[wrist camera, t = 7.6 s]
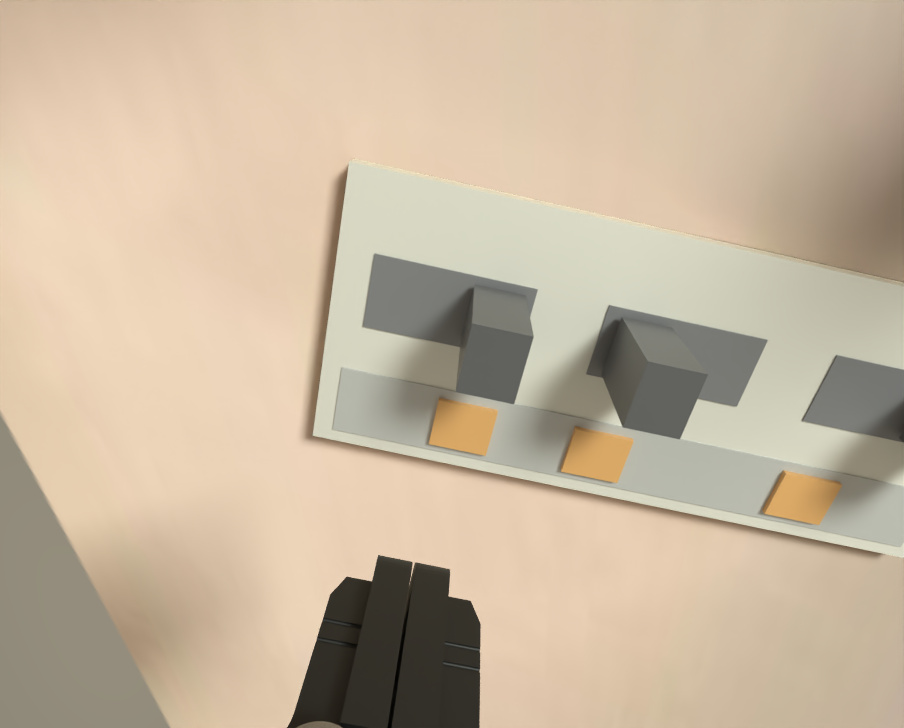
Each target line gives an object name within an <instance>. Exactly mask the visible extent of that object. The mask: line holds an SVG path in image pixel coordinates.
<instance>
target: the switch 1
mask: <svg viewBox="0 0 904 728" xmlns="http://www.w3.org/2000/svg"><path fill="white" fill-rule="evenodd" d="M533 338H534V335H533V330H532V325H531V320H530V314H529V309H528V304H527V299H526V295H521V294H516V293H512V292H507V291H503V290H498V289H494V288H489V287H485V286H480V285H475V284H474V288H473V292H472V297H471V301H470V305H469V309H468V314H467V318H466V322H465V326H464V331H463V335H462V339H461V343H460V352H459V362H458V373H457V383H456V392H458V393H462V394H467V395H472V396H476V397H481V398H486V399H491V400H495V401H500V402H505V403H510V404H514V403H515V400H516V396H517V393H518V389H519V386H520V382H521V379H522V376H523V372H524V369H525V365H526V362H527V358H528V355H529V351H530V348H531V344H532V341H533Z"/></svg>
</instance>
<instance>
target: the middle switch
mask: <svg viewBox="0 0 904 728" xmlns="http://www.w3.org/2000/svg"><path fill="white" fill-rule="evenodd" d="M601 375H602V377H603V380H604V382H605V385H606V387H607V390H608V392H609V395H610V397H611V399H612V402H613V404H614V407H615V409H616V412H617V414H618V417H619V419H620V422H621V424H622V427H623V428H628V429H632V430H637V431H642V432H647V433H651V434H656V435H661V436H665V437H670V438H675V439H680V438H681V436H682V434H683V431H684V429H685V427H686V424H687V422H688V420H689V417H690V415H691V413H692V411H693V408H694V406H695V404H696V401H697V399H698V397H699V394H700V392H701V390H702V387H703V385H704V383H705V381H706V378H707V376H708V374H707V372H706V371H705V370H704V368H703V367H702V366H701V365H700V363H699V362H698V361H697V359H696V358H695V357H694V355H693V354H692V353H691V352H690V350H689V349H688V348H687V346H686V345H685V344H684V342H683V341H682V340H681V339H680V337H679V336H678V335H677V333H676V332H675V331H674V329H673V328H672V327H667V326H662V325H658V324H653V323H649V322H644V321H640V320H635V319H630V318H626V317H621V320H620V322H619V325H618V328H617V331H616V334H615V337H614V340H613V342H612V345H611V348H610V351H609V354H608V357H607V360H606V362H605V365H604V368H603V371H602V374H601Z"/></svg>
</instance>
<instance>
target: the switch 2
mask: <svg viewBox="0 0 904 728" xmlns="http://www.w3.org/2000/svg"><path fill="white" fill-rule="evenodd" d="M899 439H900V440H902V441H903V442H904V430H903V432H902V434H901V435H900V437H899Z"/></svg>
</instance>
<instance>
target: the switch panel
mask: <svg viewBox="0 0 904 728" xmlns="http://www.w3.org/2000/svg"><path fill="white" fill-rule="evenodd" d="M474 284H475V285H480V286H485V287H489V288H494V289H498V290H503V291H507V292H512V293H516V294H521V295H526V299H527V304H528V309H529V314H530V320H531V325H532V330H533V335H534V338H533V341H532V344H531V348H530V351H529V355H528V358H527V362H526V365H525V369H524V372H523V376H522V379H521V382H520V386H519V389H518V393H517V396H516V400H515V403H514V404H510V403H505V402H500V401H495V400H491V399H486V398H481V397H476V396H472V395H467V394H462V393H458V392H456V383H457V373H458V362H459V352H460V343H461V339H462V335H463V331H464V326H465V322H466V318H467V314H468V309H469V305H470V301H471V297H472V292H473V288H474ZM621 317H626V318H630V319H635V320H640V321H644V322H649V323H653V324H658V325H662V326H667V327H672V328H673V329H674V331H675V332H676V333H677V335H678V336H679V337H680V339H681V340H682V341H683V342H684V344H685V345H686V346H687V348H688V349H689V350H690V352H691V353H692V354H693V355H694V357H695V358H696V359H697V361H698V362H699V363H700V365H701V366H702V367H703V368H704V370H705V371H706V372H707V374H708V376H707V378H706V381H705V383H704V385H703V387H702V390H701V392H700V394H699V397H698V399H697V401H696V404H695V406H694V408H693V411H692V413H691V415H690V417H689V420H688V422H687V424H686V427H685V429H684V431H683V434H682V436H681V438H680V439H675V438H670V437H665V436H661V435H656V434H651V433H647V432H642V431H637V430H632V429H628V428H623V427H622V424H621V422H620V419H619V417H618V414H617V412H616V409H615V407H614V404H613V402H612V399H611V397H610V395H609V392H608V390H607V387H606V385H605V382H604V380H603V377H602V375H601V374H602V371H603V368H604V365H605V362H606V360H607V357H608V354H609V351H610V348H611V345H612V342H613V340H614V337H615V334H616V331H617V328H618V325H619V322H620V320H621ZM903 430H904V282H899V281H895V280H890V279H886V278H882V277H877V276H873V275H868V274H864V273H859V272H855V271H851V270H846V269H842V268H837V267H833V266H828V265H824V264H820V263H815V262H811V261H806V260H802V259H798V258H793V257H789V256H784V255H780V254H775V253H771V252H767V251H762V250H758V249H753V248H749V247H744V246H740V245H736V244H731V243H727V242H722V241H718V240H713V239H709V238H705V237H700V236H696V235H691V234H687V233H682V232H678V231H674V230H669V229H665V228H660V227H656V226H652V225H647V224H643V223H638V222H634V221H629V220H625V219H621V218H616V217H612V216H607V215H603V214H598V213H594V212H590V211H585V210H581V209H576V208H572V207H567V206H563V205H559V204H554V203H550V202H545V201H541V200H536V199H532V198H528V197H523V196H519V195H514V194H510V193H506V192H501V191H497V190H492V189H488V188H483V187H479V186H475V185H470V184H466V183H461V182H457V181H452V180H448V179H444V178H439V177H435V176H430V175H426V174H421V173H417V172H413V171H408V170H404V169H399V168H395V167H390V166H386V165H382V164H377V163H373V162H368V161H364V160H360V159H355V158H354V159H353V160H351V161H349V167H348V174H347V182H346V189H345V197H344V204H343V212H342V219H341V227H340V234H339V242H338V249H337V257H336V264H335V272H334V279H333V287H332V294H331V302H330V309H329V317H328V324H327V332H326V339H325V347H324V354H323V362H322V369H321V377H320V384H319V392H318V399H317V407H316V414H315V422H314V429H313V436H316V437H321V438H326V439H331V440H336V441H341V442H345V443H350V444H355V445H360V446H365V447H370V448H374V449H379V450H384V451H389V452H394V453H399V454H404V455H408V456H413V457H418V458H423V459H428V460H433V461H437V462H442V463H447V464H452V465H457V466H462V467H466V468H471V469H476V470H481V471H486V472H491V473H495V474H500V475H505V476H510V477H515V478H520V479H524V480H529V481H534V482H539V483H544V484H549V485H554V486H558V487H563V488H568V489H573V490H578V491H583V492H587V493H592V494H597V495H602V496H607V497H612V498H616V499H621V500H626V501H631V502H636V503H641V504H645V505H650V506H655V507H660V508H665V509H670V510H675V511H679V512H684V513H689V514H694V515H699V516H704V517H708V518H713V519H718V520H723V521H728V522H733V523H737V524H742V525H747V526H752V527H757V528H762V529H766V530H771V531H776V532H781V533H786V534H791V535H795V536H800V537H805V538H810V539H815V540H820V541H825V542H829V543H834V544H839V545H844V546H849V547H854V548H858V549H863V550H868V551H873V552H878V553H883V554H887V555H892V556H897V557H902V558H904V442H903V441H902V440H900V439H899V437H900V435H901V434H902V432H903Z"/></svg>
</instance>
